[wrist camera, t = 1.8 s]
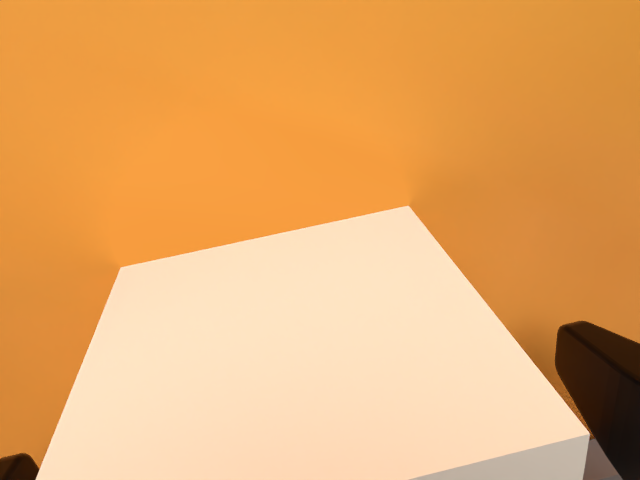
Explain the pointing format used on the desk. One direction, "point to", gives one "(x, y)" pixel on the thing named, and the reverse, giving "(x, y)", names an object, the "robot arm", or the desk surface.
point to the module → (311, 369)
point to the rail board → (598, 464)
